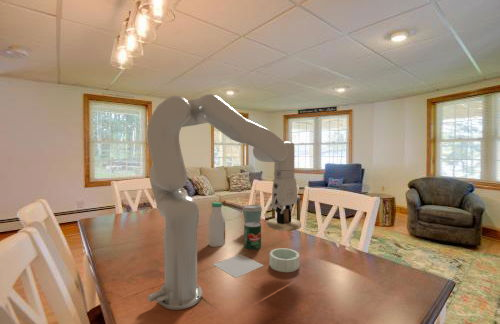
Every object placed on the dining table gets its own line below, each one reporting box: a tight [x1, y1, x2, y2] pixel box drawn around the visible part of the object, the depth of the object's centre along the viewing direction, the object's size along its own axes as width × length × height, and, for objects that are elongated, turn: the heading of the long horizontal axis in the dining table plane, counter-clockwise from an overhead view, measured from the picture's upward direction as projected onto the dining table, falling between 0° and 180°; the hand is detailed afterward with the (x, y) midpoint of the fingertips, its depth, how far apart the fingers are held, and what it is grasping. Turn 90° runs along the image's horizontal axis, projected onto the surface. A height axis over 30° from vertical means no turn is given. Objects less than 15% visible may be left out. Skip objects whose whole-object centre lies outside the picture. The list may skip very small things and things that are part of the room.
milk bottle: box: [208, 201, 226, 248], centre depth 119 cm, size 8×8×20 cm
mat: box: [212, 253, 265, 279], centre depth 98 cm, size 14×14×1 cm
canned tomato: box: [243, 222, 262, 251], centre depth 116 cm, size 8×8×11 cm
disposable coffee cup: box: [242, 204, 263, 224], centre depth 137 cm, size 11×11×15 cm
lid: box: [266, 208, 302, 232], centre depth 97 cm, size 13×13×6 cm
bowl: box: [269, 247, 300, 273], centre depth 97 cm, size 11×11×5 cm
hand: (284, 221), depth 97 cm, fingers closed on lid, 3 cm apart
